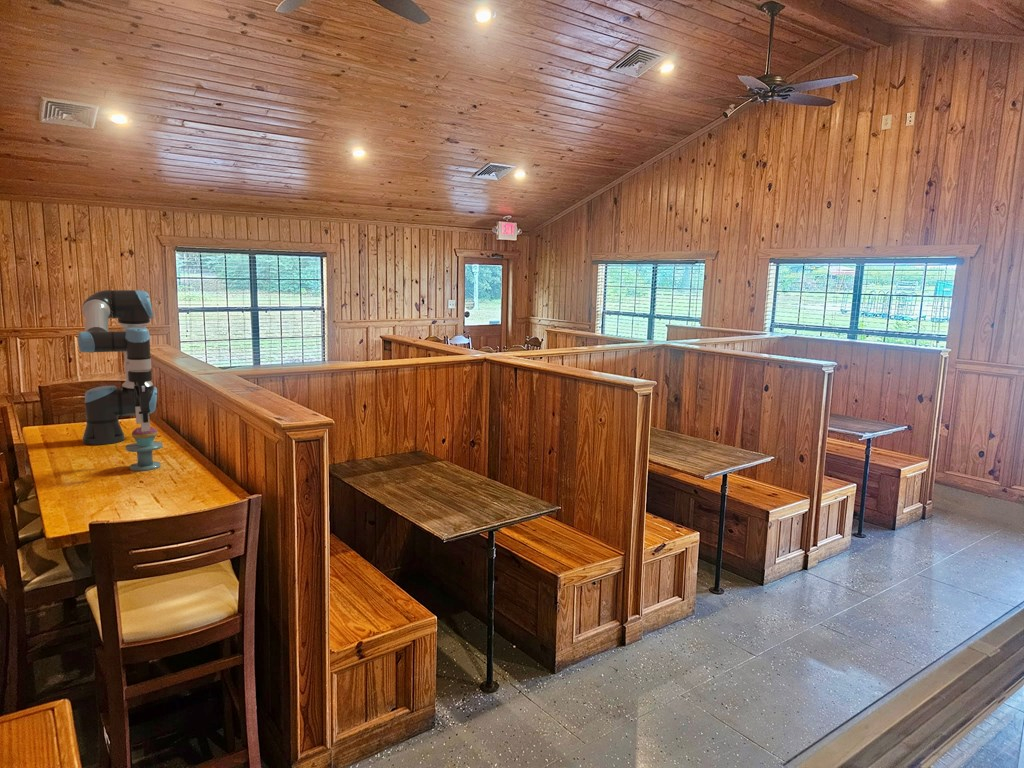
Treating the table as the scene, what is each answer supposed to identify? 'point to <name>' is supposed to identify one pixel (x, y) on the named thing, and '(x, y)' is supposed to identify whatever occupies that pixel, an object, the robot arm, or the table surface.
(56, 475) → the table surface
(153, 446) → the cake stand
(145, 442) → the cupcake
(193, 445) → the table surface
